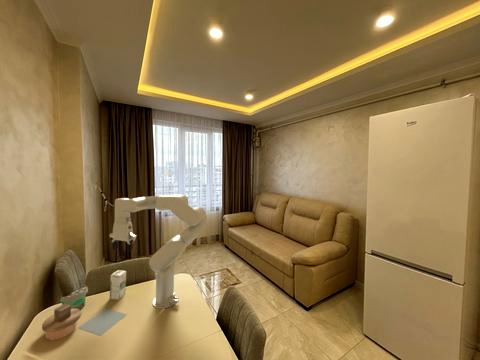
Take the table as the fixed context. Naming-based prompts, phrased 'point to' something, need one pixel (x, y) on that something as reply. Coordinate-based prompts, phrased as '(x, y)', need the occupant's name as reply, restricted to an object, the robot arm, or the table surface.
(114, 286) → the syrup box
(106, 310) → the mat
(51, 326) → the lid
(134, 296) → the table surface
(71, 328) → the bowl
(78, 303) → the food container
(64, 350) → the table surface
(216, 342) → the table surface
